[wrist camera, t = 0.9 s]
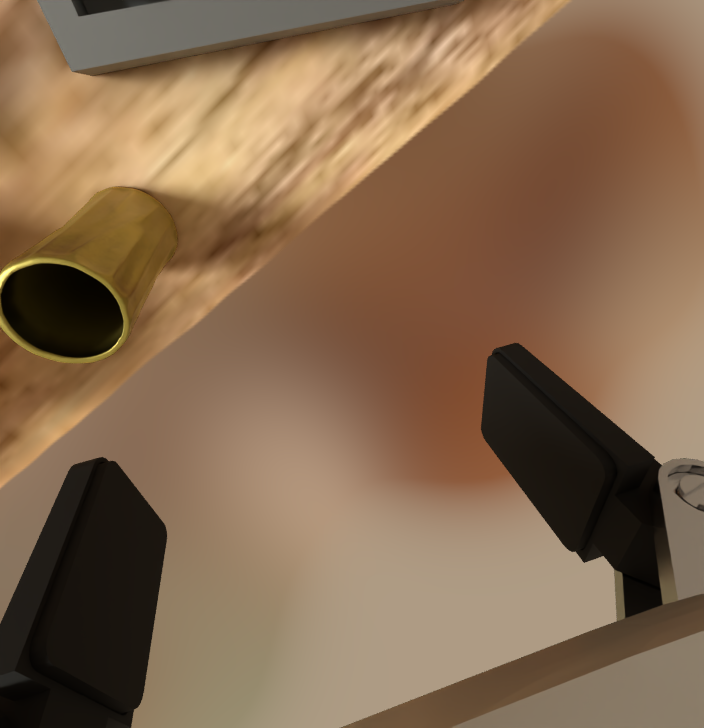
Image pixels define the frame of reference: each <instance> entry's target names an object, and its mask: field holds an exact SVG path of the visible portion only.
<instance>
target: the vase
mask: <svg viewBox="0 0 704 728" xmlns="http://www.w3.org/2000/svg"><path fill="white" fill-rule="evenodd" d="M177 242H178V238H177V231H176V227H175V224H174V221H173V219H172V217H171V216H170V214H169V213H168V211H167V210H166V209H165V207H164V206H163V205H162V204H161V203H160V202H158V201H157V200H156V199H154V198H153V197H151V196H150V195H148V194H146V193H144V192H142V191H140V190H137V189H133V188H126V187H111V188H108V189H105V190H102V191H100V192H98V193H96V194H95V195H94V196H93V197H92V198H91V199H90V200H89V202H88V203H87V204H86V205H85V206H84V207H83V208H82V209H81V210H79V211H78V212H77V213H76V214H75V215H74V216H73V217H72V218H71V219H70V220H69V221H68V222H67V223H66V224H65V225H64V226H63V227H62V228H60V229H58V230H56V231H55V232H53V233H52V234H50V235H49V236H48V237H46V238H45V239H43V240H42V241H41V242H39V243H38V244H36V245H35V246H33V247H32V248H30V249H29V250H27V251H26V252H25V253H23V254H22V255H20V256H18V257H17V258H15V259H13V260H12V261H11V262H9V263H8V264H7V265H6V266H5V267H4V268H3V269H2V271H1V272H0V327H1V328H2V329H3V331H4V332H5V333H6V334H7V335H8V336H9V337H10V338H11V339H12V340H13V341H14V342H16V343H17V344H18V345H20V346H21V347H23V348H24V349H25V350H27V351H29V352H31V353H33V354H35V355H37V356H40V357H43V358H46V359H50V360H53V361H58V362H63V363H92V362H96V361H100V360H102V359H105V358H107V357H109V356H111V355H112V354H114V353H115V352H116V351H117V350H118V349H119V348H120V347H121V346H122V345H123V344H124V343H125V342H126V340H127V339H128V337H129V335H130V334H131V331H132V328H133V326H134V324H135V322H136V320H137V318H138V316H139V313H140V311H141V309H142V307H143V304H144V302H145V300H146V298H147V297H148V295H149V293H150V291H151V289H152V287H153V285H154V282H155V280H156V278H157V276H158V275H159V274H160V272H161V271H162V269H163V267H164V266H165V264H166V263H167V262H168V261H170V259H171V258H172V256H173V255H174V253H175V250H176V247H177Z"/></svg>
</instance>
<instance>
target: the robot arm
mask: <svg viewBox="0 0 704 728" xmlns="http://www.w3.org/2000/svg"><path fill="white" fill-rule="evenodd" d="M485 380H486V381H485V391H484V401H483V413H482V424H481V430H482V434H483V436H484V439H485V441H486V442H487V443H488V444H489V446H490V447H491V449H492V450H493V451H494V453H495V454H496V455H497V457H498V458H499V459H500V461H501V462H502V463H503V465H504V466H505V467H506V469H507V470H508V471H509V473H510V474H511V475H512V477H513V478H514V479H515V481H516V482H517V483H518V485H519V486H520V487H521V488H522V490H523V491H524V492H525V494H526V495H527V497H528V498H529V499H530V501H531V502H532V503H533V505H534V506H535V507H536V509H537V510H538V511H539V513H540V514H541V515H542V517H543V518H544V519H545V521H546V522H547V523H548V525H549V526H550V527H551V529H552V530H553V531H554V533H555V534H556V536H557V537H558V538H559V540H560V541H561V542H562V544H563V545H564V546H565V547H566V548H567V549H568V550H569V551H572V552H575V551H576V553H577V554H578V555H579V557H580V558H581V559H582V561H583V562H584V563H585V562H588V561H590V560H593V559H596V558H599V557H601V556H604V557H605V558H606V559H607V561H608V562H609V563H610V564H611V566H612V567H613V568H614V576H615V596H616V614H617V615H616V616H617V622H614V623H611V624H608V625H606V626H603V627H600V628H597V629H595V630H592V631H589V632H587V633H584V634H581V635H579V636H576V637H574V638H571V639H568V640H566V641H563V642H561V643H558V644H555V645H553V646H550V647H547V648H545V649H542V650H540V651H537V652H534V653H532V654H529V655H527V656H524V657H521V658H519V659H517V660H514V661H511V662H508V663H506V664H503V665H501V666H498V667H495V668H493V669H490V670H488V671H486V672H482V673H480V674H477V675H475V676H472V677H469V678H467V679H464V680H462V681H459V682H457V683H454V684H451V685H449V686H446V687H444V688H441V689H439V690H436V691H433V692H431V693H428V694H426V695H423V696H421V697H418V698H416V699H413V700H410V701H408V702H405V703H403V704H400V705H398V706H395V707H392V708H390V709H387V710H385V711H382V712H379V713H377V714H374V715H372V716H369V717H367V718H364V719H362V720H359V721H356V722H354V723H351V724H349V725H346V726H344V727H341V728H704V462H703V461H700V460H695V459H686V458H683V459H673V460H670V461H668V462H666V463H664V464H663V465H661V464H660V463H658V462H657V461H656V460H655V459H654V458H655V457H654V456H653V455H652V454H650V453H649V452H648V451H647V450H645V449H644V448H643V447H642V446H640V445H639V444H638V443H637V442H635V440H633V439H632V438H631V437H630V436H629V435H628V434H626V433H625V432H624V431H623V430H622V429H620V428H619V427H618V426H617V425H616V424H615V423H613V422H612V421H611V420H610V419H609V418H607V417H606V416H605V415H604V414H603V413H601V412H600V411H599V410H598V409H596V408H595V407H594V406H593V405H592V404H591V403H590V402H588V401H587V400H586V399H585V398H584V397H582V396H581V395H580V394H579V393H578V392H576V391H575V390H574V389H573V388H572V387H570V386H569V385H568V384H567V383H566V382H565V381H563V380H562V379H561V378H560V377H559V376H557V375H556V374H555V373H554V372H553V371H551V370H550V369H549V368H548V367H547V366H545V365H544V364H543V363H542V362H541V361H539V360H538V359H537V358H536V357H535V356H533V355H532V354H531V353H530V352H529V351H528V350H526V349H525V348H524V347H522V345H520V344H518V343H513V344H510V345H506V346H503V347H499V348H496V349H494V350H493V353H492V355H491V356H489V357H488V360H487V368H486V379H485ZM166 541H167V531H166V527H165V525H164V523H163V522H162V520H161V519H160V518H159V516H158V515H157V514H156V513H155V511H154V510H153V509H152V508H151V506H150V505H149V504H148V502H147V501H146V500H145V498H144V497H143V496H142V495H141V493H140V492H139V491H138V490H137V488H136V487H135V486H134V484H133V483H132V482H131V480H130V479H129V478H128V477H127V475H126V474H125V473H124V472H123V470H122V469H121V468H120V466H119V465H118V464H117V463H116V462H115V461H108V460H107V459H106V458H103V457H101V458H96V459H93V460H89V461H85V462H82V463H78V464H75V465H73V466H72V467H71V468H70V470H69V471H68V474H67V476H66V478H65V480H64V483H63V485H62V487H61V489H60V491H59V494H58V496H57V498H56V500H55V503H54V505H53V507H52V509H51V512H50V514H49V516H48V518H47V521H46V523H45V525H44V527H43V529H42V532H41V534H40V536H39V539H38V541H37V543H36V545H35V548H34V550H33V552H32V554H31V556H30V559H29V561H28V563H27V565H26V568H25V570H24V572H23V574H22V577H21V579H20V581H19V583H18V586H17V588H16V590H15V592H14V594H13V597H12V599H11V601H10V603H9V606H8V608H7V610H6V613H5V615H4V617H3V619H2V621H1V624H0V728H131V724H132V718H133V712H134V709H136V708H137V707H138V706H139V705H140V703H141V700H142V697H143V693H144V686H145V680H146V672H147V666H148V660H149V653H150V646H151V640H152V632H153V627H154V620H155V614H156V607H157V601H158V594H159V587H160V581H161V574H162V567H163V561H164V554H165V548H166Z"/></svg>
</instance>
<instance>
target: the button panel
mask: <svg viewBox="0 0 704 728" xmlns="http://www.w3.org/2000/svg"><path fill="white" fill-rule="evenodd" d="M37 1H38V3H39V5H40V7H41V9H42V11H43V13H44V15H45V17H46V19H47V21H48V23H49V25H50V28H51V30H52V32H53V34H54V36H55V38H56V40H57V42H58V44H59V46H60V48H61V50H62V52H63V54H64V56H65V59H66V61H67V63H68V65H69V67H70V69H71V71H72V72H76V73H81V74H86V75H90V76H93V75H98V74H103V73H108V72H113V71H118V70H123V69H129V68H134V67H139V66H144V65H149V64H154V63H159V62H164V61H169V60H174V59H179V58H184V57H189V56H195V55H200V54H205V53H210V52H215V51H220V50H225V49H230V48H235V47H240V46H245V45H250V44H256V43H261V42H266V41H271V40H276V39H281V38H286V37H291V36H296V35H301V34H306V33H311V32H317V31H322V30H327V29H332V28H337V27H342V26H347V25H352V24H357V23H362V22H367V21H372V20H378V19H383V18H388V17H393V16H398V15H403V14H408V13H413V12H418V11H423V10H428V9H433V8H439V7H444V6H449V5H454V4H457V3H459V2H462V1H464V0H37Z"/></svg>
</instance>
